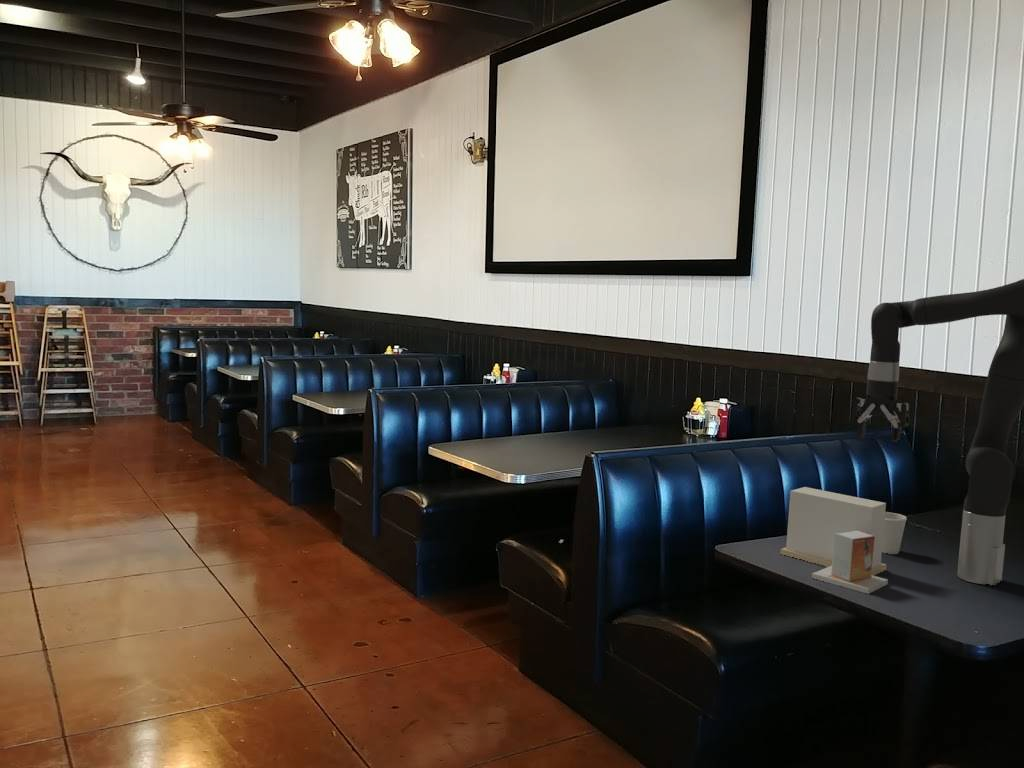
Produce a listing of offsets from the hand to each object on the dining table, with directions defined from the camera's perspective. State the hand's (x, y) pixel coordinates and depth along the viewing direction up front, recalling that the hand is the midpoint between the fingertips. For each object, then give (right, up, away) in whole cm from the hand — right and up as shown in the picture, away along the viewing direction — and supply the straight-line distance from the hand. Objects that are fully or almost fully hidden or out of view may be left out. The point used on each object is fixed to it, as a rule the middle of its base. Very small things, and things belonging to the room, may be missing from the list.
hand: (878, 439), depth 228 cm
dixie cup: (+7, -32, +10) cm, 34 cm away
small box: (-14, -33, -18) cm, 40 cm away
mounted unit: (-13, -32, -3) cm, 35 cm away
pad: (-15, -34, -18) cm, 41 cm away
